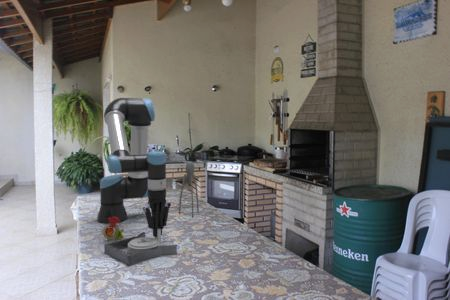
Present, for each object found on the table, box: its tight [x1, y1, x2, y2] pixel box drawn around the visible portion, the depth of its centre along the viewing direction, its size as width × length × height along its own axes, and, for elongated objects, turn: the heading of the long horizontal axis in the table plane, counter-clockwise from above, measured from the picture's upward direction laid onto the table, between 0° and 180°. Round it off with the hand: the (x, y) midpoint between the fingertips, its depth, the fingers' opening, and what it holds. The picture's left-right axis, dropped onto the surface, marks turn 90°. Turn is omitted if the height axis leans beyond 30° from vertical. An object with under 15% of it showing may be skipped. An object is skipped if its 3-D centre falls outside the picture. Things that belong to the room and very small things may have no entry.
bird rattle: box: [102, 216, 124, 242], centre depth 168 cm, size 6×11×9 cm
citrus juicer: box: [178, 161, 200, 218], centre depth 210 cm, size 11×10×30 cm
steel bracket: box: [104, 231, 178, 267], centre depth 153 cm, size 24×21×4 cm
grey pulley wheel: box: [127, 236, 160, 255], centre depth 155 cm, size 13×13×5 cm
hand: (157, 243), depth 160 cm, fingers closed
